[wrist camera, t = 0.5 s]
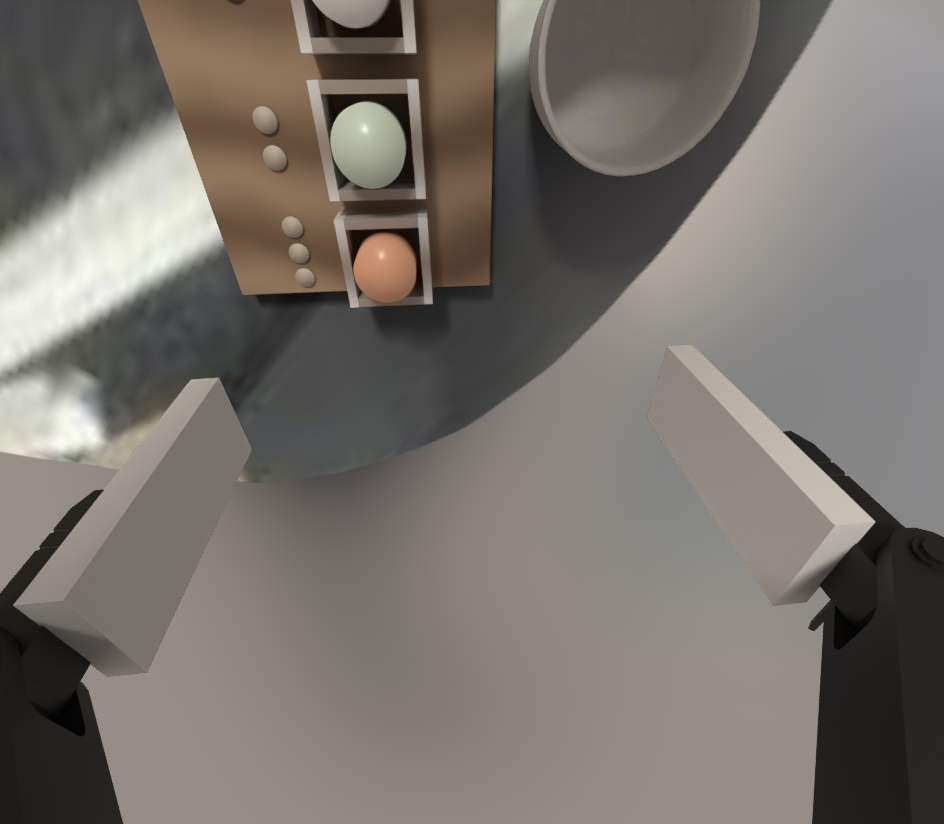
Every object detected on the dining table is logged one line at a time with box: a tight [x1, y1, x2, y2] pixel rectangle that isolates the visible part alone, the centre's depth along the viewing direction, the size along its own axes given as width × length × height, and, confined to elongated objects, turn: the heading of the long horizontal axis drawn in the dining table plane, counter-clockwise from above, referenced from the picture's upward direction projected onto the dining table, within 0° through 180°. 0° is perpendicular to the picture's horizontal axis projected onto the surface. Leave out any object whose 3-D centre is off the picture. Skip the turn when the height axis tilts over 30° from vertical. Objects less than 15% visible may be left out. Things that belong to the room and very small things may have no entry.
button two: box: [330, 100, 407, 189], centre depth 25 cm, size 4×4×3 cm
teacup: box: [529, 0, 760, 176], centre depth 23 cm, size 14×11×8 cm
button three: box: [353, 229, 417, 303], centre depth 29 cm, size 4×4×3 cm
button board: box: [138, 0, 496, 307], centre depth 27 cm, size 20×19×5 cm
